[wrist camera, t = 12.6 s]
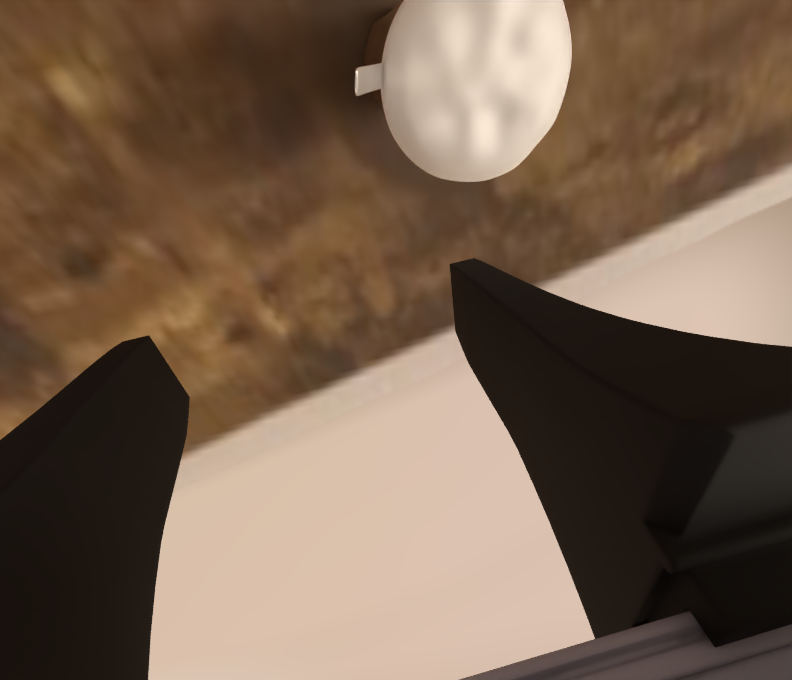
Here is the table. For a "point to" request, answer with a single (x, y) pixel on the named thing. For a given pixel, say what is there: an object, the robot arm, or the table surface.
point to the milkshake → (468, 81)
